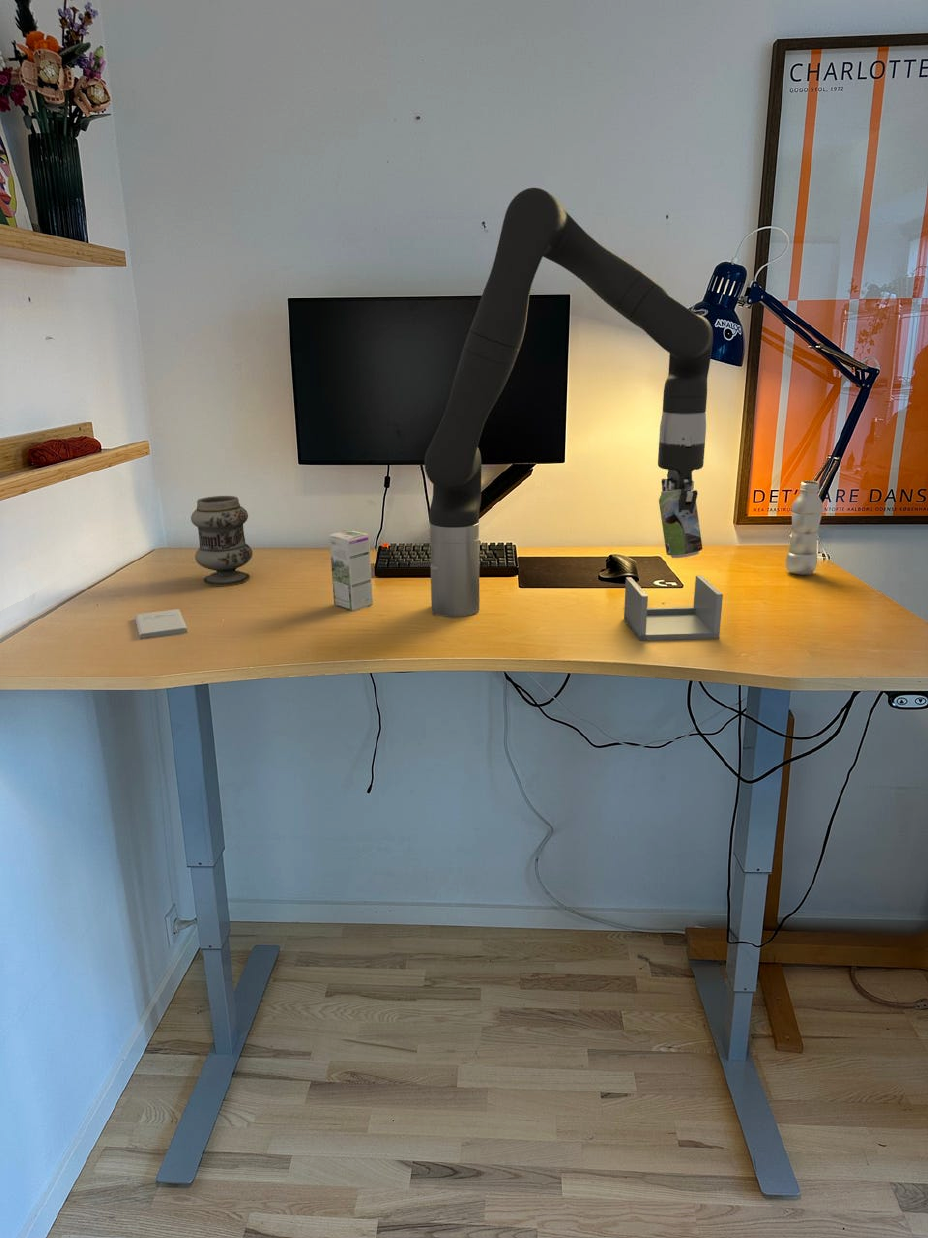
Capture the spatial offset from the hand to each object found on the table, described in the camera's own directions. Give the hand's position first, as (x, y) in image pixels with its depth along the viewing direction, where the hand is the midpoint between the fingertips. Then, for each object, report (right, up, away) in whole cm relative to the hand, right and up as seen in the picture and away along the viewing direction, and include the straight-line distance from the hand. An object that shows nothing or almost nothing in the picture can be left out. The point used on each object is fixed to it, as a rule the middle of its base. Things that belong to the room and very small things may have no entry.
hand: (675, 539), depth 152 cm
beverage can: (0, -3, -2) cm, 4 cm away
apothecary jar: (-89, -5, +39) cm, 97 cm away
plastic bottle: (+36, -4, +38) cm, 53 cm away
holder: (0, -15, +5) cm, 16 cm away
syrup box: (-59, -11, +20) cm, 63 cm away
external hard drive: (-93, -16, +10) cm, 95 cm away
